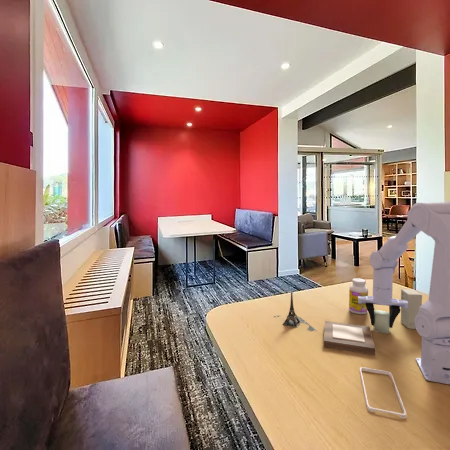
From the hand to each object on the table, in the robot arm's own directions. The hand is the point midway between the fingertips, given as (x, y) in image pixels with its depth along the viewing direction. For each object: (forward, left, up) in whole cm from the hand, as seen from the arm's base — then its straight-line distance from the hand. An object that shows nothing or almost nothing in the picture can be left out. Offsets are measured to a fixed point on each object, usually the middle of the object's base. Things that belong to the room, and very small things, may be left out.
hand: (381, 325), depth 94 cm
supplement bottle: (+14, +6, -2) cm, 15 cm away
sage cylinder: (0, 0, -2) cm, 2 cm away
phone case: (-33, +5, -2) cm, 33 cm away
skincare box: (+7, -10, -2) cm, 12 cm away
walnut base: (-10, +11, -2) cm, 15 cm away
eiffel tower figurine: (-4, +29, -2) cm, 29 cm away
